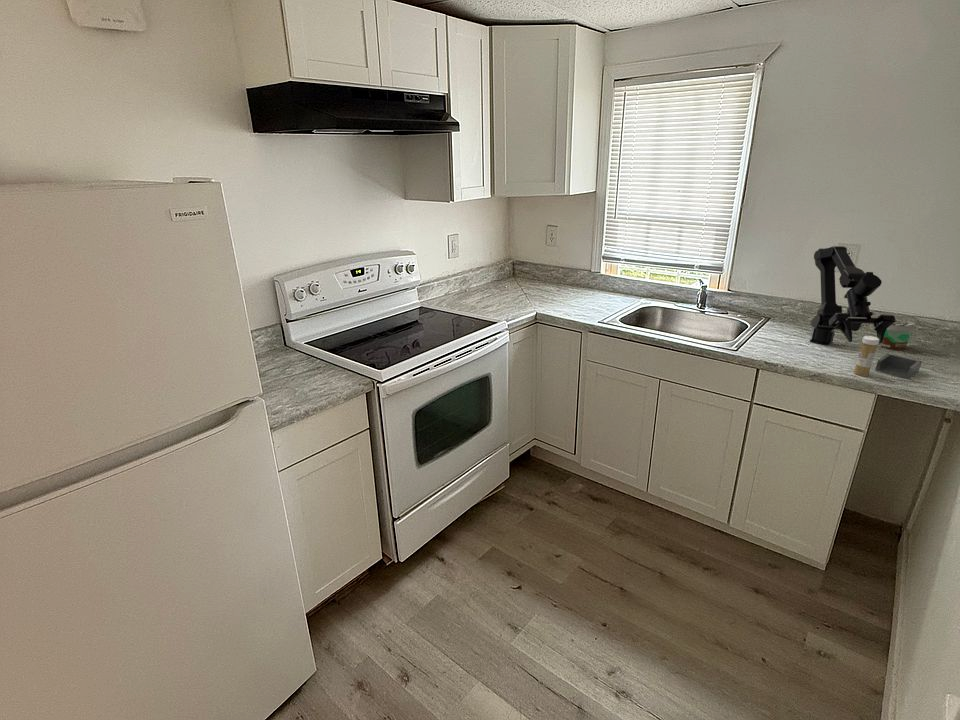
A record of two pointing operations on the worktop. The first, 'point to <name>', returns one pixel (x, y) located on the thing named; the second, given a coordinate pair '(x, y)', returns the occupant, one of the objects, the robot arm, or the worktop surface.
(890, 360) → the dark grey shallow tray
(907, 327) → the food container
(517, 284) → the worktop surface
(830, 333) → the robot arm
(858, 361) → the sprinkles bottle
